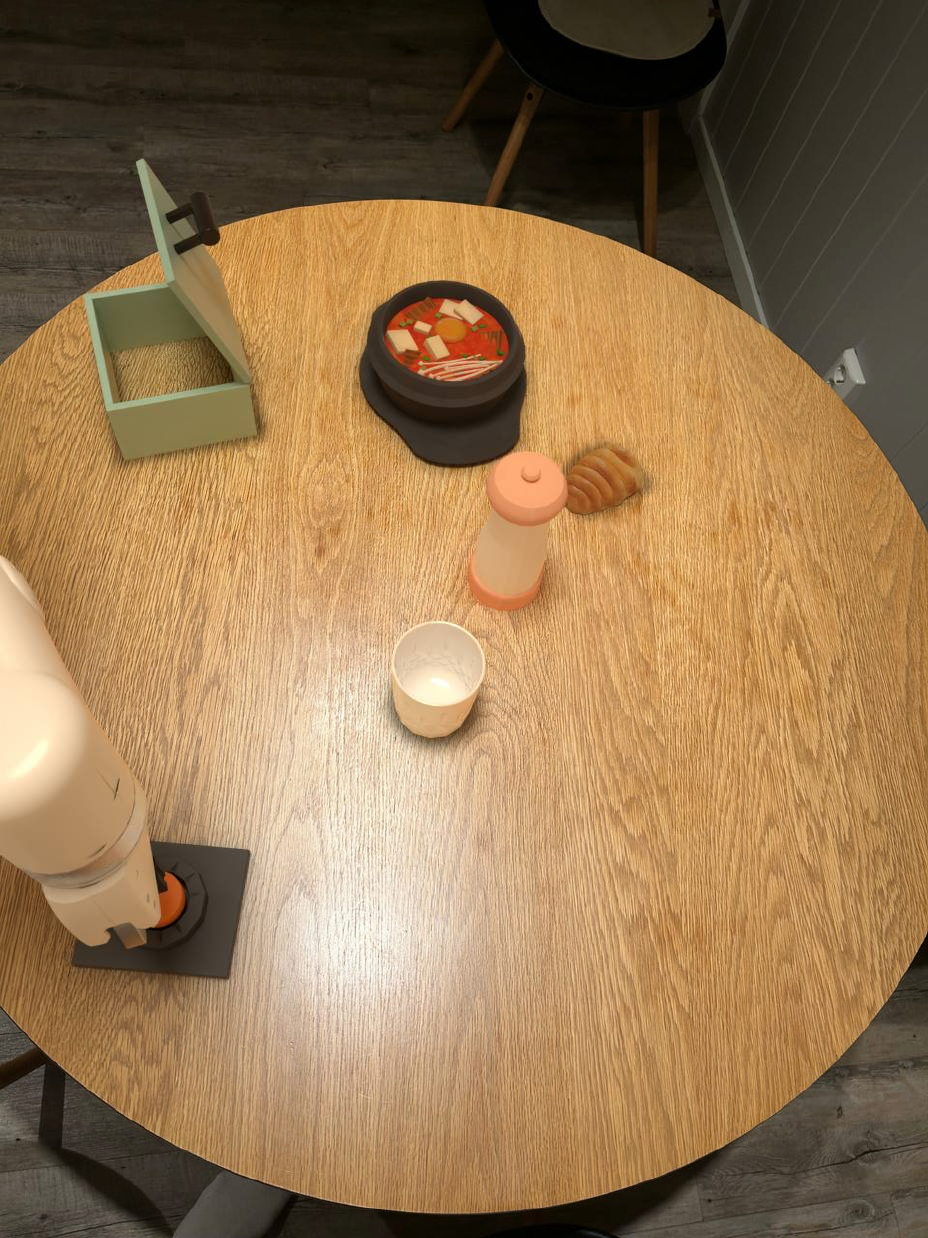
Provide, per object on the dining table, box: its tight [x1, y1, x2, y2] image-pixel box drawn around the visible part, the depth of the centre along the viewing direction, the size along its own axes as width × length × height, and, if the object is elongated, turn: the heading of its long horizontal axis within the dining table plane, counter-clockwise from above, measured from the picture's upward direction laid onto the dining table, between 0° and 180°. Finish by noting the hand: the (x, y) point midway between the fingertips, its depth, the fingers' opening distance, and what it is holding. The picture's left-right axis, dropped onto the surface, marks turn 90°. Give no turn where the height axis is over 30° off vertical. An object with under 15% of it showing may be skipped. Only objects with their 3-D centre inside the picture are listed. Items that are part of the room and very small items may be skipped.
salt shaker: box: [467, 450, 568, 612], centre depth 86 cm, size 7×7×19 cm
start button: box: [153, 872, 186, 928], centre depth 73 cm, size 4×4×2 cm
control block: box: [70, 840, 252, 980], centre depth 75 cm, size 12×10×4 cm
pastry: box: [564, 443, 645, 516], centre depth 99 cm, size 9×7×4 cm
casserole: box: [358, 279, 528, 465], centre depth 102 cm, size 25×19×8 cm
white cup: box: [390, 620, 487, 739], centre depth 83 cm, size 8×8×10 cm
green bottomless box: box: [82, 281, 258, 461], centre depth 97 cm, size 14×16×9 cm
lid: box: [135, 158, 253, 383], centre depth 88 cm, size 14×16×5 cm
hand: (144, 886), depth 68 cm, fingers closed
